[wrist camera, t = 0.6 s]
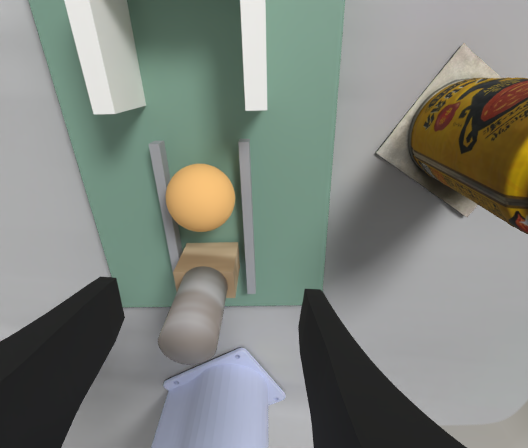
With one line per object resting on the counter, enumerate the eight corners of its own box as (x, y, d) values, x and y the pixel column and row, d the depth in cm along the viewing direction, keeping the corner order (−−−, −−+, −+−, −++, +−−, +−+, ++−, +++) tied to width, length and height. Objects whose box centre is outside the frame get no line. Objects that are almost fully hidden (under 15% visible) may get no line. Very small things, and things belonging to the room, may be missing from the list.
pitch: (319, 294, 25) (323, 313, 23) (126, 297, 25) (115, 316, 23) (347, -105, 14) (360, -134, 12) (16, -93, 15) (-23, -119, 13)
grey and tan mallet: (240, 270, 22) (227, 364, 15) (191, 271, 22) (155, 365, 15) (237, 237, 21) (222, 321, 14) (186, 237, 21) (144, 322, 14)
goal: (267, 102, 17) (267, 110, 14) (129, 105, 18) (93, 114, 14) (264, -44, 15) (264, -82, 11) (99, -38, 15) (45, -74, 11)
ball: (200, 224, 21) (187, 255, 17) (163, 176, 19) (140, 200, 16) (249, 196, 20) (245, 223, 16) (214, 143, 18) (201, 160, 15)
